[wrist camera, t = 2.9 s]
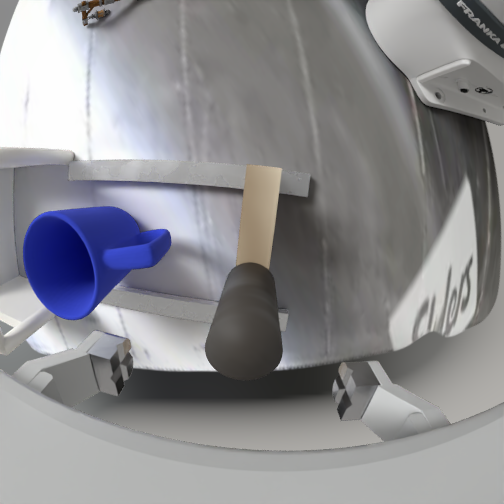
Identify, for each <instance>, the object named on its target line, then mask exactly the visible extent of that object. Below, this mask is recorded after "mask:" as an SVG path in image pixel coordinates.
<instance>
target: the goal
mask: <svg viewBox="0 0 504 504" xmlns="http://www.w3.org/2000/svg"><path fill="white" fill-rule="evenodd" d="M73 159H74V154H73V152H72V151H71V150H59V149H44V148H19V147H0V320H1V321H3V322H5V323H7V324H8V325H10V326H12V327H14V328H13V329H12V330H11V331H9V332H8V333H7V334H5V335H4V336H3V333H2V330H1V326H0V354H2V355H5V356H7V355H8V354H9V353H11V352H12V351H13V350H14V349H15V348H17V347H18V346H19V345H20V344H21V343H22V342H23V341H25V340H26V339H27V338H28V337H30V336H31V335H32V334H33V333H35V332H36V331H37V330H38V329H40V328H41V327H42V326H43V325H45V324H46V323H47V322H48V321H50V320H51V319H52V318H53V317H55V316H56V315H55V314H54V313H52V312H51V311H49V310H48V309H47V308H46V307H45V306H44V305H43V304H42V303H41V301H40V300H39V299H38V298H37V296H36V294H35V293H34V291H33V289H32V287H31V285H30V283H29V281H28V278H25V277H22V276H19V270H18V263H17V255H16V245H15V234H14V214H13V185H14V168H17V167H25V166H35V165H69V161H73Z"/></svg>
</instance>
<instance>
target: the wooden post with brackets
mask: <svg viewBox="0 0 504 504" xmlns="http://www.w3.org/2000/svg"><path fill="white" fill-rule="evenodd" d="M115 1H119V0H93V1H90V2H88V1H83V2H82V3H80V4H78V7H75V8H74V9H73V11H74V12H77V11H78V13H79V12H82V16H83V17H82V21H83V25H84V26H86V25H88V17H87V16H88V14H89V13H90V11H91V10H92V9H93V8H94V7H96V6H102V5H107V4H111V3H114V2H115ZM137 1H138V0H137ZM89 8H90V9H89ZM86 10H88V12H87V13H86ZM109 12H110V11H109V10H106V11H105V8H104V9H103V10H100V11H97V10H96V12H95V14H94V15H93V14H92V15H91V16H90V17H89V19H90V18H92V19H93V17H94V18H96V19H97V20H98V18H101V17H105V14H108V13H109Z"/></svg>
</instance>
